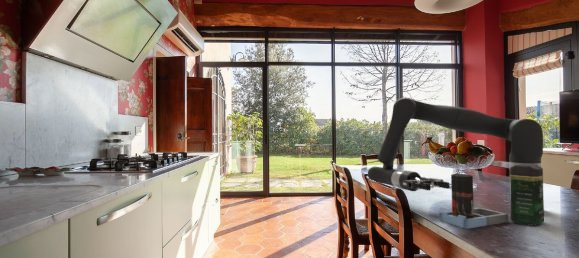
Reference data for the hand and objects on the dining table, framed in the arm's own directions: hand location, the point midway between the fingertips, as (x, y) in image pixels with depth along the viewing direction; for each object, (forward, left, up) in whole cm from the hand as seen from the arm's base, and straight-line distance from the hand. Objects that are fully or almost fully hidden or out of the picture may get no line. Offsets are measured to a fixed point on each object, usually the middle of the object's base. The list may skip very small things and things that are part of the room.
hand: (439, 186), depth 103 cm
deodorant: (0, +9, -10) cm, 14 cm away
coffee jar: (-18, +17, -10) cm, 27 cm away
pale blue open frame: (-4, +9, -10) cm, 14 cm away
